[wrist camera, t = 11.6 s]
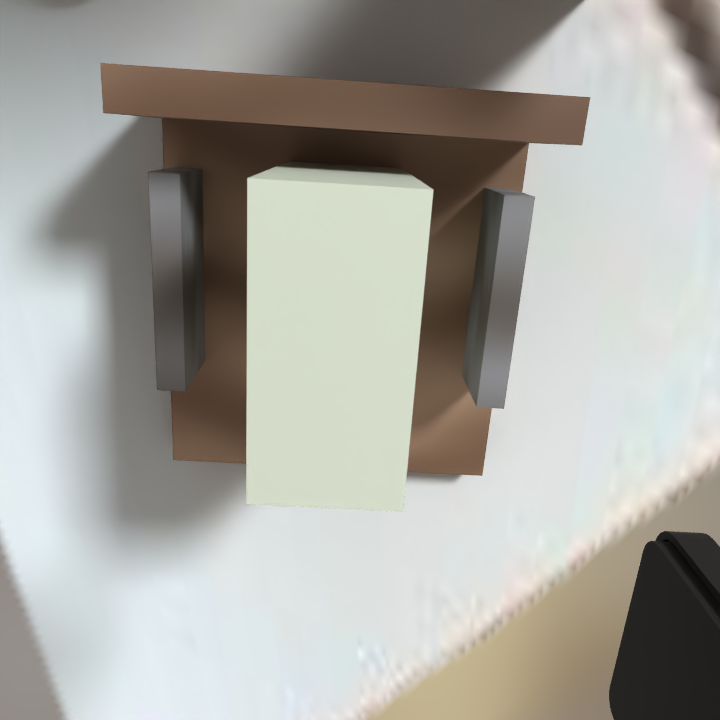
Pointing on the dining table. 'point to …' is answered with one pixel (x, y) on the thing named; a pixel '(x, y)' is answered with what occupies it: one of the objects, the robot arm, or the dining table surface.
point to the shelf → (345, 147)
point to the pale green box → (333, 333)
